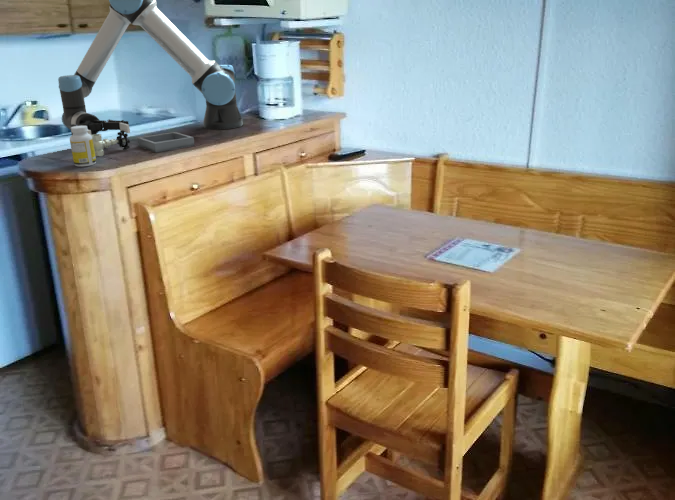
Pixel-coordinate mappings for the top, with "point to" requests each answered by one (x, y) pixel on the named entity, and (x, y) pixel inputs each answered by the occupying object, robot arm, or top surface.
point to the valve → (109, 142)
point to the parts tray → (165, 142)
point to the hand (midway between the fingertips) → (109, 131)
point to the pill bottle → (82, 147)
